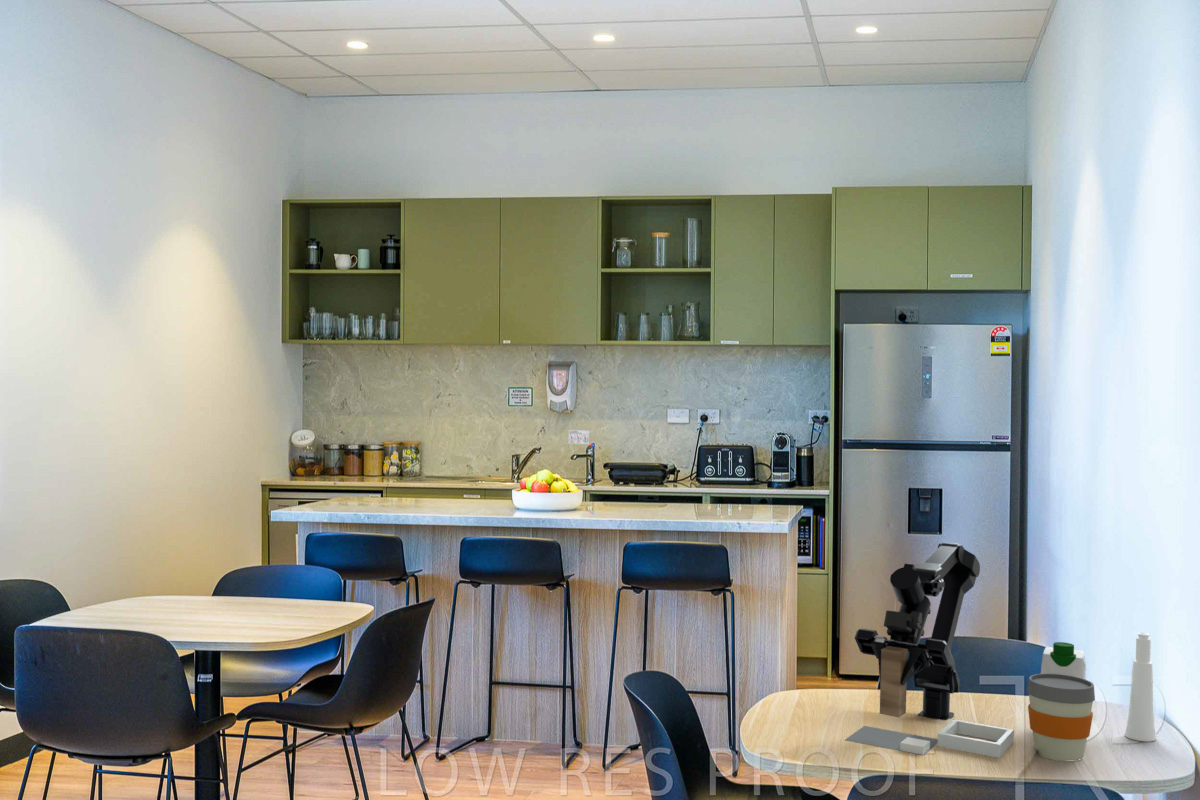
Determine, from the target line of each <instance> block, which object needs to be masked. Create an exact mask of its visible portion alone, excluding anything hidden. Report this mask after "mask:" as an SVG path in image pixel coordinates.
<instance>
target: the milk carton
mask: <svg viewBox="0 0 1200 800" xmlns="http://www.w3.org/2000/svg"><path fill="white" fill-rule="evenodd" d="M1052 644H1053V647H1050V646H1045V648H1044V649H1043V651H1042V652H1043V653H1042V658H1041V663H1040V665H1041V668H1040V669H1041V670H1040V674H1061V675H1068V676H1074V677H1078V678H1082V679H1085V680H1087V678H1086V677H1087V676H1086V675H1087V674H1086V672H1087V664H1086V663H1087V662H1086V657H1085V650H1078V649H1077V650H1076V649H1075V645H1074V644H1073V643H1069V642H1060V641H1058V642H1055V641H1054V643H1052Z"/></svg>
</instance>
